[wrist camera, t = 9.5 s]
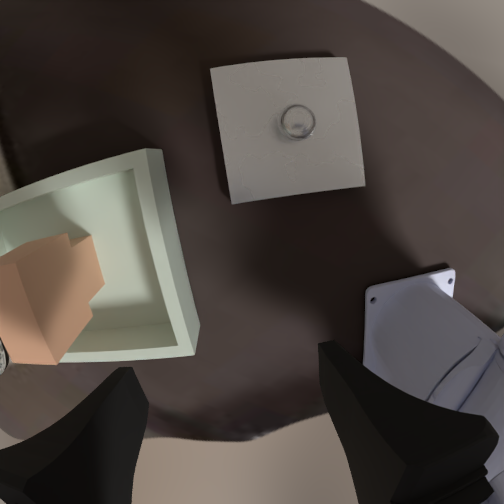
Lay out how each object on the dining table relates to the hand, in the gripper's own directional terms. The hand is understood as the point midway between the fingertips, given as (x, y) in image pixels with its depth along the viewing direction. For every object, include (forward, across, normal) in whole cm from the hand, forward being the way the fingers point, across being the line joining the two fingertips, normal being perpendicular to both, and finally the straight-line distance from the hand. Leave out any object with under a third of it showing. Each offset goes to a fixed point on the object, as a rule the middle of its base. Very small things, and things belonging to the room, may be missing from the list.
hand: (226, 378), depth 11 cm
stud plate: (+9, -5, -9) cm, 14 cm away
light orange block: (+9, +10, -3) cm, 14 cm away
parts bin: (+9, +10, -3) cm, 14 cm away
